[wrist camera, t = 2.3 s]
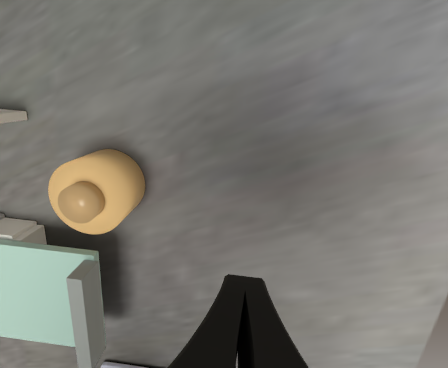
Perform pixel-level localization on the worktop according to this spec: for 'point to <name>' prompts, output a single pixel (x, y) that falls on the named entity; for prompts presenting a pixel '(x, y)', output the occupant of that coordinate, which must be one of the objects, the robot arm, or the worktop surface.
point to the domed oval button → (96, 190)
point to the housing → (18, 227)
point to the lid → (52, 297)
